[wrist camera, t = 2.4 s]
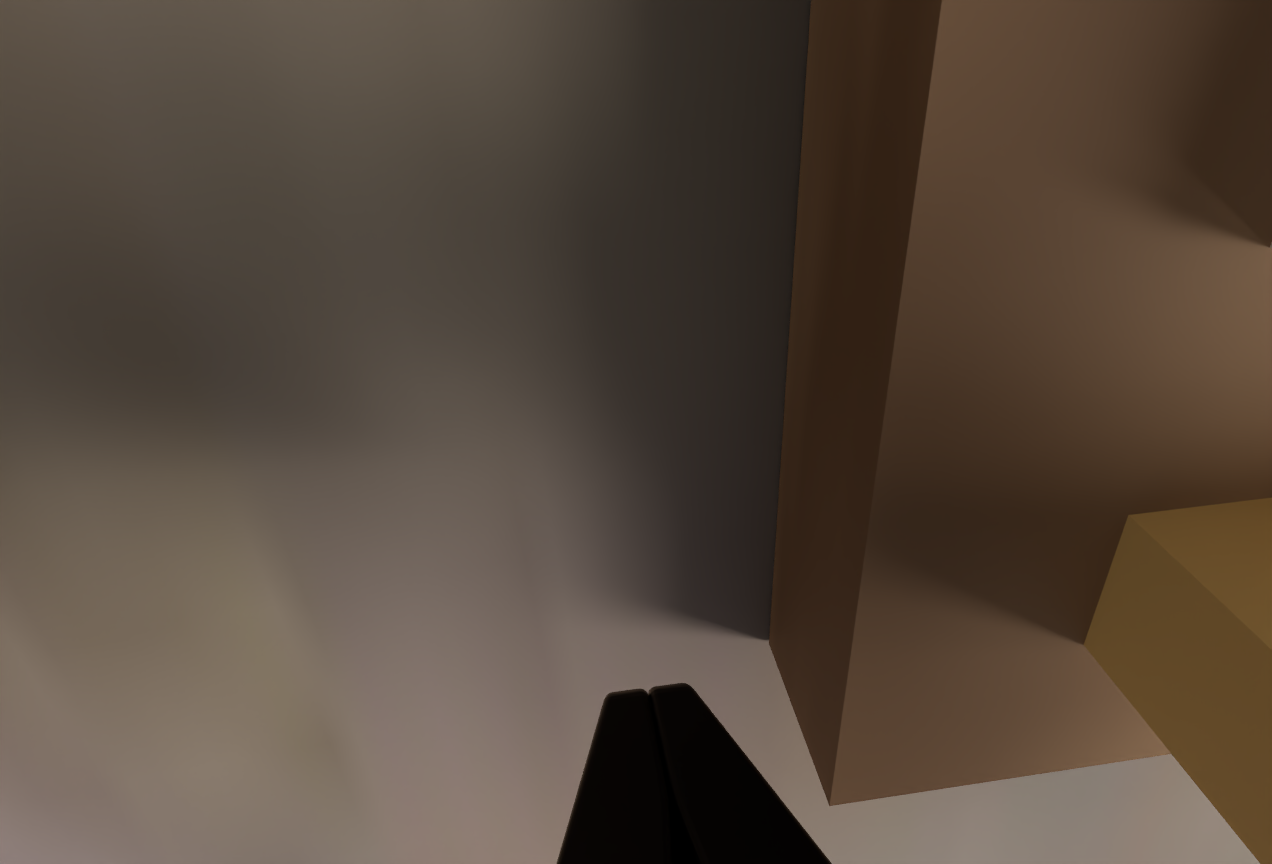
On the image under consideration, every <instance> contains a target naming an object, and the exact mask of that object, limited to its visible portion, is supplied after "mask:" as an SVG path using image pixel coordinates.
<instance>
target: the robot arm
mask: <svg viewBox="0 0 1272 864" xmlns="http://www.w3.org/2000/svg"><path fill="white" fill-rule="evenodd" d="M557 864H831V862H830V861H829V860H828V858H827V857H826V856H825V855H824V853H823V852H822V851H821V850H820V848H819V847H818V846H817V845H816V843H815V842H814V841H813V839H812V838H811V837H810V836H809V834H808V833H807V832H806V831H805V829H804V828H803V827H802V826H801V824H800V823H799V822H798V820H797V819H796V818H795V817H794V815H793V814H792V813H791V812H790V810H789V809H788V808H787V807H786V805H785V804H784V803H783V801H782V800H781V799H780V798H779V796H778V795H777V794H776V793H775V791H774V790H773V789H772V788H771V786H770V785H769V784H768V782H767V781H766V780H765V779H764V777H763V776H762V775H761V774H760V772H759V771H758V770H757V769H756V767H755V766H754V765H753V763H752V762H751V761H750V760H749V758H748V757H747V756H746V755H745V753H744V752H743V751H742V750H741V748H740V747H739V746H738V744H737V743H736V742H735V741H734V739H733V738H732V737H731V736H730V734H729V733H728V732H727V731H726V729H725V728H724V727H723V725H722V724H721V723H720V722H719V720H718V719H717V718H716V717H715V715H714V714H713V713H712V712H711V710H710V709H709V708H708V706H707V705H706V704H705V703H704V701H703V700H702V699H701V698H700V696H699V695H698V694H697V693H696V691H695V690H694V689H693V688H692V687H691V686H690V685H688V684H686V683H678V684H670V685H663V686H655V687H653V688H651V689H650V690H649V693H648V694H647V692H646V691H645V690H643V689H633V690H625V691H618V692H612V693H609V694H608V695H607V696H606V698H605V699H604V702H603V705H602V709H601V712H600V716H599V719H598V723H597V726H596V730H595V733H594V737H593V740H592V743H591V747H590V750H589V754H588V757H587V761H586V764H585V768H584V771H583V775H582V778H581V781H580V785H579V788H578V792H577V795H576V799H575V802H574V806H573V809H572V813H571V816H570V819H569V823H568V826H567V830H566V833H565V837H564V840H563V844H562V847H561V851H560V854H559V857H558V861H557Z"/></svg>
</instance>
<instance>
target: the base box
mask: <svg viewBox="0 0 1272 864" xmlns="http://www.w3.org/2000/svg"><path fill="white" fill-rule="evenodd" d="M1271 243H1272V0H811V9H810V24H809V40H808V55H807V70H806V86H805V101H804V116H803V131H802V147H801V162H800V177H799V192H798V208H797V223H796V238H795V253H794V269H793V284H792V299H791V314H790V330H789V345H788V360H787V375H786V391H785V406H784V421H783V436H782V452H781V467H780V482H779V497H778V513H777V528H776V543H775V558H774V574H773V589H772V604H771V619H770V635H769V645H770V647H771V650H772V653H773V655H774V658H775V661H776V663H777V666H778V669H779V671H780V674H781V677H782V680H783V682H784V685H785V688H786V690H787V693H788V696H789V698H790V701H791V704H792V706H793V709H794V712H795V714H796V717H797V720H798V722H799V725H800V728H801V731H802V733H803V736H804V739H805V741H806V744H807V747H808V749H809V752H810V755H811V757H812V760H813V763H814V765H815V768H816V771H817V773H818V776H819V779H820V782H821V784H822V787H823V790H824V792H825V795H826V798H827V800H828V803H829V806H832V805H839V804H845V803H852V802H858V801H865V800H871V799H878V798H884V797H891V796H898V795H904V794H911V793H917V792H924V791H930V790H937V789H943V788H950V787H957V786H963V785H970V784H976V783H983V782H989V781H996V780H1002V779H1009V778H1015V777H1022V776H1029V775H1035V774H1042V773H1048V772H1055V771H1061V770H1068V769H1074V768H1081V767H1087V766H1094V765H1101V764H1107V763H1114V762H1120V761H1127V760H1133V759H1140V758H1146V757H1153V756H1159V755H1166V754H1171V753H1170V751H1169V750H1168V749H1167V748H1166V746H1165V745H1164V744H1163V743H1162V741H1161V740H1160V739H1159V738H1158V736H1157V735H1156V734H1155V733H1154V732H1153V730H1152V729H1151V728H1150V727H1149V725H1148V724H1147V723H1146V722H1145V720H1144V719H1143V718H1142V717H1141V715H1140V714H1139V713H1138V712H1137V711H1136V709H1135V708H1134V707H1133V706H1132V704H1131V703H1130V702H1129V701H1128V699H1127V698H1126V697H1125V696H1124V694H1123V693H1122V692H1121V691H1120V689H1119V688H1118V687H1117V686H1116V685H1115V683H1114V682H1113V681H1112V680H1111V678H1110V677H1109V676H1108V675H1107V673H1106V672H1105V671H1104V670H1103V668H1102V667H1101V666H1100V665H1099V664H1098V662H1097V661H1096V660H1095V659H1094V657H1093V656H1092V655H1091V654H1090V652H1089V651H1088V650H1087V649H1086V647H1085V646H1084V642H1085V639H1086V636H1087V633H1088V631H1089V628H1090V625H1091V622H1092V619H1093V616H1094V613H1095V610H1096V607H1097V605H1098V602H1099V599H1100V596H1101V593H1102V590H1103V587H1104V584H1105V581H1106V578H1107V576H1108V573H1109V570H1110V567H1111V564H1112V561H1113V558H1114V555H1115V552H1116V550H1117V547H1118V544H1119V541H1120V538H1121V535H1122V532H1123V529H1124V526H1125V524H1126V521H1127V518H1128V515H1133V514H1141V513H1150V512H1158V511H1166V510H1174V509H1182V508H1191V507H1199V506H1207V505H1215V504H1223V503H1232V502H1240V501H1248V500H1256V499H1264V498H1272V248H1270V245H1271Z"/></svg>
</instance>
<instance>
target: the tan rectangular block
mask: <svg viewBox="0 0 1272 864" xmlns="http://www.w3.org/2000/svg"><path fill="white" fill-rule="evenodd" d="M1084 646H1085V647H1086V649H1087V650H1088V651H1089V652H1090V654H1091V655H1092V656H1093V657H1094V659H1095V660H1096V661H1097V662H1098V664H1099V665H1100V666H1101V667H1102V668H1103V670H1104V671H1105V672H1106V673H1107V675H1108V676H1109V677H1110V678H1111V680H1112V681H1113V682H1114V683H1115V685H1116V686H1117V687H1118V688H1119V689H1120V691H1121V692H1122V693H1123V694H1124V696H1125V697H1126V698H1127V699H1128V701H1129V702H1130V703H1131V704H1132V706H1133V707H1134V708H1135V709H1136V711H1137V712H1138V713H1139V714H1140V715H1141V717H1142V718H1143V719H1144V720H1145V722H1146V723H1147V724H1148V725H1149V727H1150V728H1151V729H1152V730H1153V732H1154V733H1155V734H1156V735H1157V736H1158V738H1159V739H1160V740H1161V741H1162V743H1163V744H1164V745H1165V746H1166V748H1167V749H1168V750H1169V751H1170V753H1171V754H1172V755H1173V756H1174V757H1175V759H1176V760H1177V761H1178V762H1179V764H1180V765H1181V766H1182V767H1183V769H1184V770H1185V771H1186V772H1187V774H1188V775H1189V776H1190V777H1191V778H1192V780H1193V781H1194V782H1195V783H1196V785H1197V786H1198V787H1199V788H1200V790H1201V791H1202V792H1203V793H1204V795H1205V796H1206V797H1207V798H1208V799H1209V801H1210V802H1211V803H1212V804H1213V806H1214V807H1215V808H1216V809H1217V811H1218V812H1219V813H1220V814H1221V816H1222V817H1223V818H1224V819H1225V820H1226V822H1227V823H1228V824H1229V825H1230V827H1231V828H1232V829H1233V830H1234V832H1235V833H1236V834H1237V835H1238V837H1239V838H1240V839H1241V840H1242V841H1243V843H1244V844H1245V845H1246V846H1247V848H1248V849H1249V850H1250V851H1251V853H1252V854H1253V855H1254V856H1255V858H1256V859H1257V860H1258V861H1259V862H1260V864H1272V498H1264V499H1256V500H1248V501H1240V502H1232V503H1223V504H1215V505H1207V506H1199V507H1191V508H1182V509H1174V510H1166V511H1158V512H1150V513H1141V514H1133V515H1128V518H1127V521H1126V524H1125V526H1124V529H1123V532H1122V535H1121V538H1120V541H1119V544H1118V547H1117V550H1116V552H1115V555H1114V558H1113V561H1112V564H1111V567H1110V570H1109V573H1108V576H1107V578H1106V581H1105V584H1104V587H1103V590H1102V593H1101V596H1100V599H1099V602H1098V605H1097V607H1096V610H1095V613H1094V616H1093V619H1092V622H1091V625H1090V628H1089V631H1088V633H1087V636H1086V639H1085V642H1084Z"/></svg>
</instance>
